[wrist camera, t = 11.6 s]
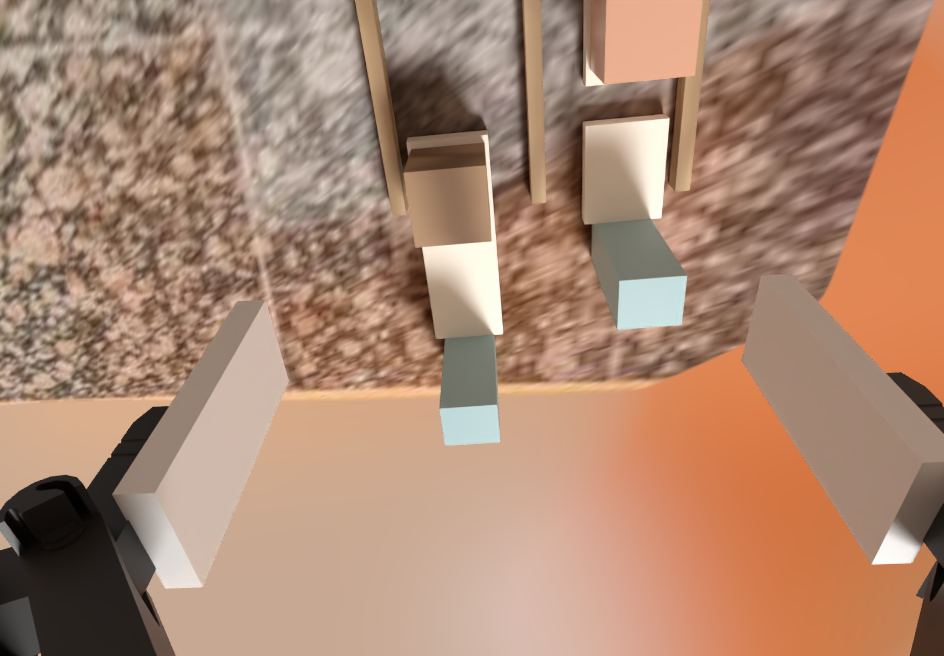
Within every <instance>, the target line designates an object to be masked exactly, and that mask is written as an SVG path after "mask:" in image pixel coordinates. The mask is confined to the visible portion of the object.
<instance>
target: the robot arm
mask: <svg viewBox="0 0 944 656" xmlns="http://www.w3.org/2000/svg"><path fill="white" fill-rule="evenodd" d="M742 362H743V364H744V365H745V367H746V368H747V370H748V372H749V373H750V375H751V376H752V378H753V379H754V381H755V382H756V384H757V386H758V387H759V389H760V390H761V392H762V393H763V395H764V397H765V398H766V400H767V401H768V403H769V404H770V406H771V407H772V409H773V411H774V412H775V414H776V415H777V417H778V418H779V420H780V422H781V423H782V425H783V426H784V428H785V429H786V431H787V433H788V434H789V436H790V437H791V439H792V440H793V442H794V443H795V445H796V447H797V448H798V450H799V451H800V453H801V454H802V456H803V458H804V459H805V461H806V462H807V464H808V465H809V467H810V469H811V470H812V472H813V473H814V475H815V476H816V478H817V480H818V481H819V483H820V484H821V486H822V487H823V489H824V491H825V492H826V494H827V495H828V497H829V498H830V500H831V501H832V503H833V505H834V506H835V508H836V509H837V511H838V512H839V514H840V515H841V517H842V519H843V520H844V522H845V523H846V525H847V527H848V528H849V530H850V531H851V533H852V534H853V536H854V538H855V539H856V541H857V542H858V544H859V545H860V547H861V548H862V550H863V552H864V553H865V555H866V556H867V558H868V559H869V561H870V563H871V564H894V563H912V562H913V560H914V559H915V557H916V555H917V553H918V551H919V550H920V548H921V546H922V544H923V543H925V544H926V546H927V547H928V548H929V550H930V551H931V552H932V554H933V555H934V556H935V558H936V559H937V561H936V562H935V564H934V566H933V567H932V569H931V571H930V573H929V574H928V576H927V578H926V579H925V581H924V583H923V584H922V586H921V588H920V589H919V591H918V593H917V594H916V596H918V597H920V598H924V599H923V603H922V608H921V612H920V616H919V620H918V624H917V628H916V632H915V637H914V641H913V645H912V650H911V653H910V656H944V407H943V406H942V403H941V402H940V401H939V400H938V399H937V398H936V397H935V396H934V395H933V394H932V393H931V392H930V391H929V390H928V389H927V388H926V387H925V386H923V385H922V384H920V383H918V382H916V381H915V380H913V379H911V378H909V377H908V376H906V375H905V374H903V373H901V372H899V373H885V372H884V371H883V370H882V369H881V368H880V367H879V365H878V364H877V363H876V362H875V361H874V360H873V359H872V358H871V357H870V356H869V355H868V354H867V353H866V352H865V351H864V350H863V349H862V348H861V347H860V346H859V345H858V343H856V342H855V340H854V339H853V338H852V337H851V336H850V335H849V334H848V333H847V332H846V331H845V330H844V329H843V328H842V327H841V326H840V325H839V323H838V322H837V321H835V319H834V318H833V317H832V316H831V315H830V314H829V313H828V312H827V311H826V310H825V309H824V308H823V307H822V306H821V305H820V304H819V302H818V301H817V300H816V299H815V298H814V297H813V296H812V295H811V294H810V293H809V292H808V291H807V290H806V289H805V288H804V287H803V286H802V285H801V284H800V283H799V281H798V280H797V279H796V278H795V277H794V276H793V275H792V274H780V275H762V276H761V280H760V284H759V288H758V293H757V297H756V301H755V305H754V309H753V314H752V318H751V322H750V326H749V331H748V335H747V339H746V343H745V348H744V352H743V356H742ZM288 381H289V380H288V377H287V373H286V370H285V366H284V363H283V359H282V356H281V352H280V349H279V345H278V342H277V339H276V335H275V332H274V328H273V325H272V321H271V318H270V314H269V311H268V307H267V304H266V300H256V301H237V303H236V304H235V306H234V307H233V309H232V310H231V312H230V313H229V315H228V317H227V318H226V320H225V321H224V323H223V324H222V326H221V327H220V329H219V330H218V332H217V334H216V335H215V337H214V338H213V340H212V341H211V343H210V344H209V346H208V347H207V349H206V350H205V352H204V354H203V355H202V357H201V358H200V360H199V361H198V363H197V364H196V366H195V367H194V369H193V370H192V372H191V374H190V375H189V377H188V378H187V380H186V381H185V383H184V384H183V386H182V387H181V389H180V391H179V392H178V394H177V395H176V397H175V398H174V400H173V401H172V403H171V404H170V406H162V407H152V408H151V409H150V410H148V411H147V412H146V413H145V414H143V415H142V416H141V417H140V418H138V419H137V420H136V421H135V422H133V424H132V425H131V427H130V428H129V429H128V431H127V433H126V434H125V435H124V437H123V438H122V439H121V443H119V444H118V445H117V447H116V448H115V449H114V451H113V452H112V454H111V458H108V459H107V461H106V462H105V464H104V465H103V466H102V468H101V469H100V471H99V472H98V474H97V475H96V476H95V478H94V479H93V481H92V482H91V484H90V485H89V487H88V488H87V489H86V488H85V487H84V485H83V484H82V482H81V481H80V480H79V479H78V478H77V477H73V476H68V475H60V476H52V477H49V478H46V479H43V480H40V481H37V482H35V483H33V484H31V485H29V486H28V487H26V488H24V489H22V490H20V491H19V492H18V493H16V494H15V495H14V496H13V497H12V498H11V499H10V500H8V501H7V502H6V503H5V505H4V506H3V507H2V509H1V510H0V532H1V533H2V534H3V536H4V537H5V538H6V539H7V541H8V542H9V543H10V545H11V546H12V547H10V548H7V549H3V550H0V656H38V654H39V653H41V656H175V653H174V651H173V649H172V646H171V644H170V641H169V639H168V637H167V634H166V632H165V629H164V627H163V625H162V622H161V620H160V618H159V615H158V613H157V610H156V608H155V606H154V603H153V601H152V599H151V597H150V595H149V593H148V592H147V590H146V588H147V586H148V584H149V582H150V580H151V578H152V576H153V574H154V572H155V571H156V573H157V575H158V576H159V578H160V580H161V582H162V584H163V585H164V587H165V588H190V587H191V588H193V587H203V586H204V583H205V581H206V578H207V576H208V573H209V571H210V569H211V566H212V564H213V562H214V559H215V557H216V554H217V552H218V550H219V547H220V545H221V542H222V540H223V537H224V535H225V533H226V530H227V528H228V526H229V523H230V521H231V518H232V516H233V513H234V511H235V509H236V506H237V504H238V501H239V499H240V497H241V494H242V492H243V489H244V487H245V485H246V482H247V480H248V477H249V475H250V473H251V470H252V468H253V465H254V463H255V460H256V458H257V456H258V453H259V451H260V448H261V446H262V444H263V441H264V439H265V437H266V434H267V432H268V429H269V427H270V425H271V422H272V420H273V417H274V415H275V413H276V410H277V408H278V405H279V403H280V401H281V398H282V396H283V393H284V391H285V389H286V386H287V384H288Z"/></svg>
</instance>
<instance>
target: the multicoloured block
mask: <svg viewBox="0 0 944 656" xmlns="http://www.w3.org/2000/svg"><path fill="white" fill-rule="evenodd" d="M406 143H407V150H408V157H409V154H410V151H411V149H420V148H430V147H441V146H452V145H463V144H474V143H485V154H486V166H487V179H488V191H489V204H490V218H491V237H492V241H491V242H479V243H467V244H455V245H443V246H431V247H422V250H423V256H424V263H425V269H426V276H427V283H428V289H429V296H430V303H431V309H432V316H433V323H434V329H435V336H436V339H443V338H445V346H444V358H443V370H442V383H441V395H440V415H441V421H442V428H443V434H444V441H445V445H446V446H448V445H464V444H479V443H494V442H500V423H499V402H498V382H497V361H496V349H495V338H494V335H497V334H503V326H502V313H501V300H500V287H499V274H498V261H497V248H496V235H495V222H494V209H493V196H492V183H491V170H490V157H489V144H488V131H487V130H482V131H472V132H461V133H450V134H439V135H429V136H418V137H408V139H407V142H406Z"/></svg>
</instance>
